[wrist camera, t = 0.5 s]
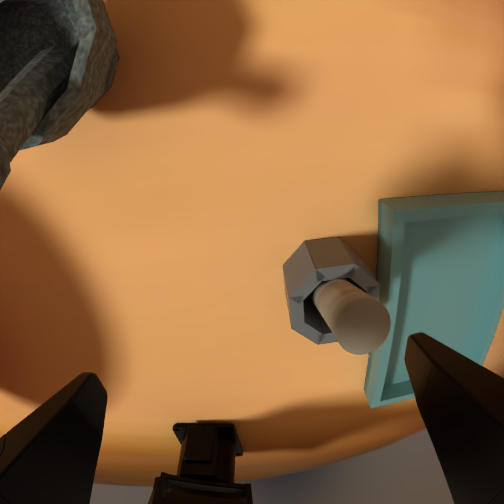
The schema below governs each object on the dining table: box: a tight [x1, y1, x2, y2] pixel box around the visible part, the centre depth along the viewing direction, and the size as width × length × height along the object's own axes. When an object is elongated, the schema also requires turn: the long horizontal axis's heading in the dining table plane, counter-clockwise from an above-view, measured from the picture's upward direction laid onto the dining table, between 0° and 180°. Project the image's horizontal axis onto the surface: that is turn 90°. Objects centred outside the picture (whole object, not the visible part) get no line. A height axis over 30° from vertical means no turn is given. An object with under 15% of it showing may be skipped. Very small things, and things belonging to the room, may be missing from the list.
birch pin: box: [309, 278, 391, 355], centre depth 17 cm, size 5×2×9 cm, turn 7°
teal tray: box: [364, 191, 504, 409], centre depth 22 cm, size 18×12×2 cm, turn 7°
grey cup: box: [283, 237, 380, 344], centre depth 20 cm, size 5×5×4 cm
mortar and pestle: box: [0, 0, 119, 189], centre depth 11 cm, size 11×9×12 cm
